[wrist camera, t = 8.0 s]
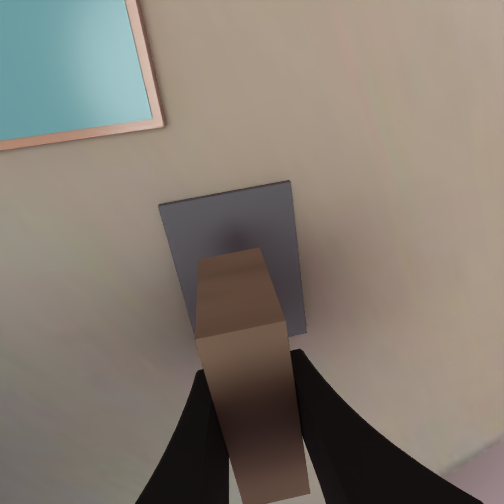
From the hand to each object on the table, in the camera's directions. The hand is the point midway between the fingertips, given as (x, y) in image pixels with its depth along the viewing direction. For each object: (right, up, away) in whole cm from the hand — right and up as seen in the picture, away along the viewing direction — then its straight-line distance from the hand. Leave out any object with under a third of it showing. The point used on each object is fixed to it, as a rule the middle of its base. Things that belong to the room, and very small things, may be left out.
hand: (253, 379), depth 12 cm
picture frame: (-8, +10, +4) cm, 13 cm away
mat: (-1, +3, +8) cm, 9 cm away
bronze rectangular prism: (0, +1, +3) cm, 3 cm away
